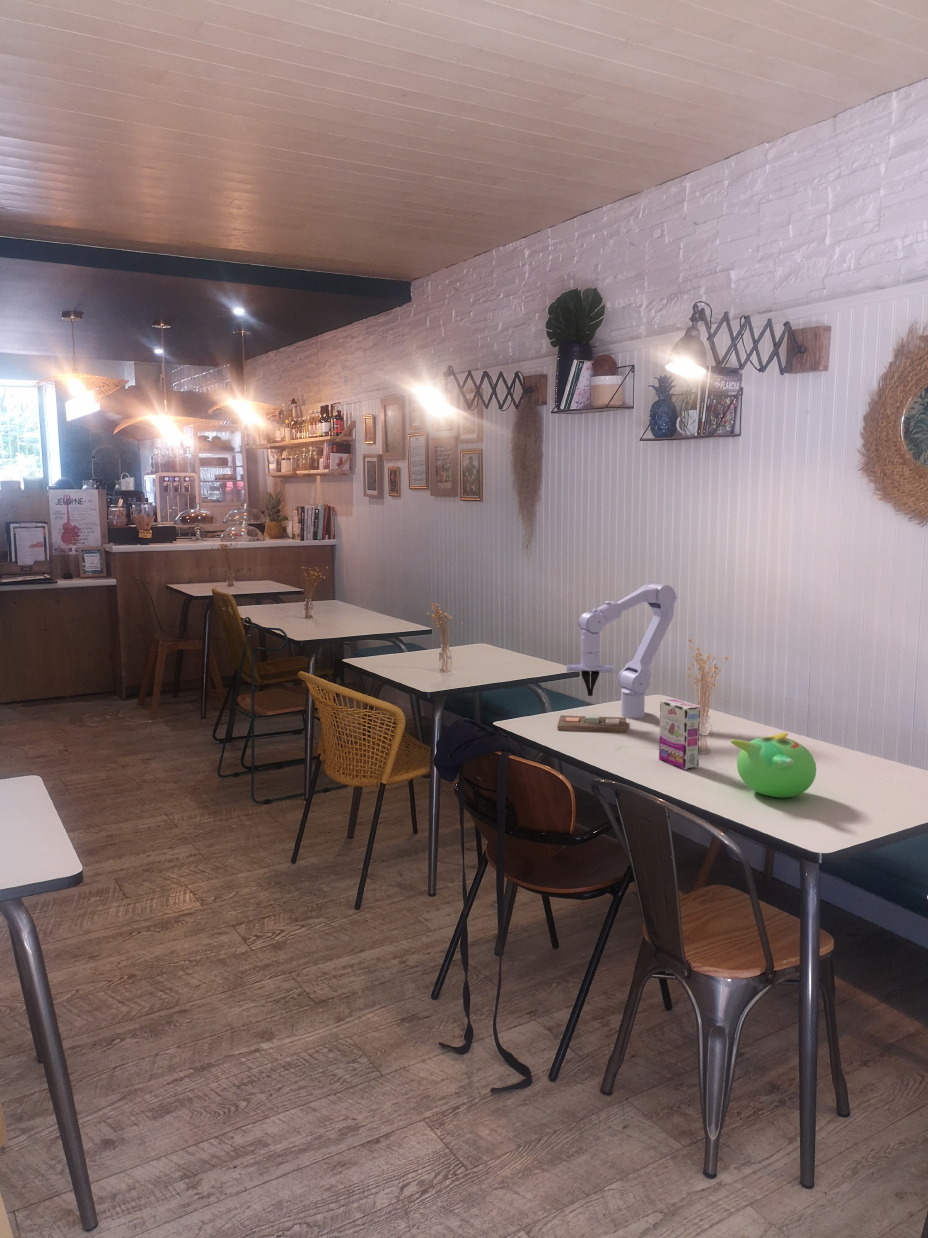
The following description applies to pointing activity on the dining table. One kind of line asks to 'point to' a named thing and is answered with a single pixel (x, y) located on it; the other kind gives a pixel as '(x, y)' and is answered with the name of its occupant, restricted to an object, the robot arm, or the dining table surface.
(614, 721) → the cream button
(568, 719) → the terracotta button
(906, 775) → the dining table surface
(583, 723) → the button panel
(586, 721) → the sage button
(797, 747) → the toy bird
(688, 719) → the candy bar box
